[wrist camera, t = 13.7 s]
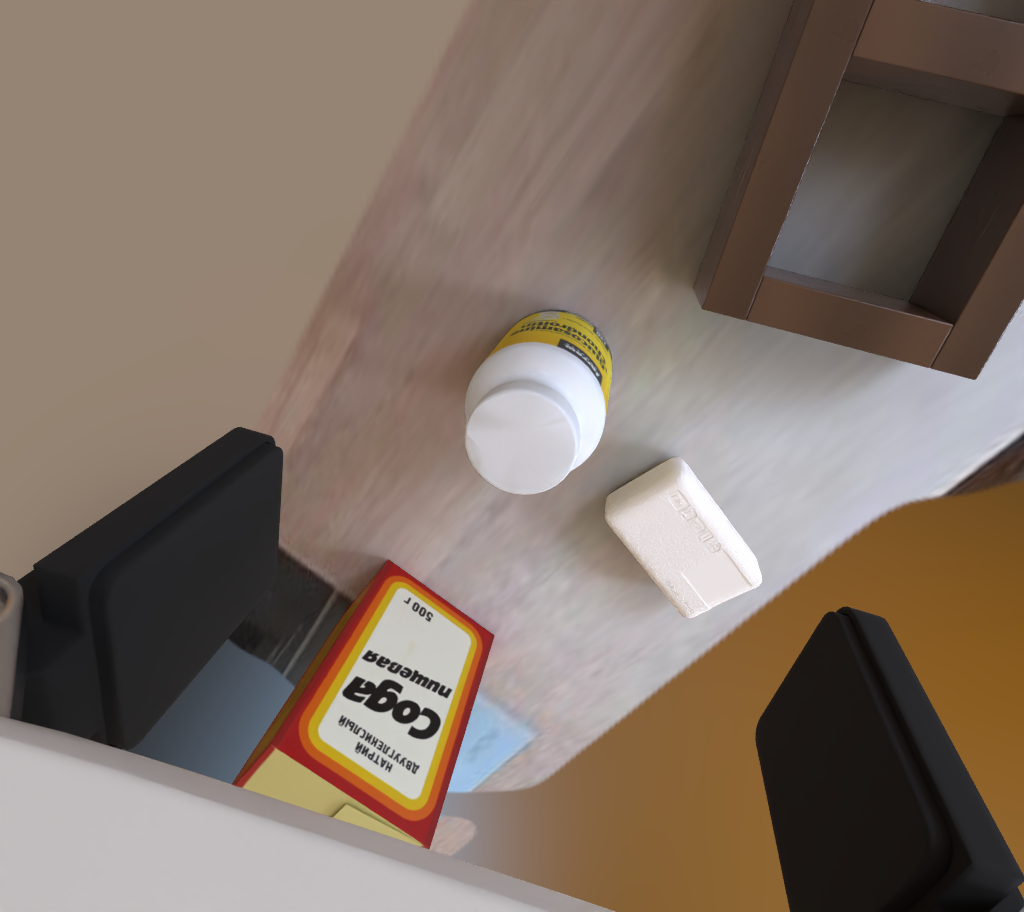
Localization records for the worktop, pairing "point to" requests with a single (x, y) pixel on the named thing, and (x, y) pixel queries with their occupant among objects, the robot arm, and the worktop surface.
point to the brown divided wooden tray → (789, 145)
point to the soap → (682, 538)
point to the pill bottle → (538, 402)
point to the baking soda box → (378, 713)
